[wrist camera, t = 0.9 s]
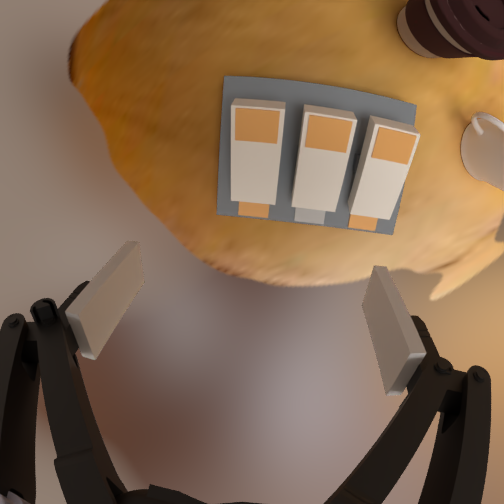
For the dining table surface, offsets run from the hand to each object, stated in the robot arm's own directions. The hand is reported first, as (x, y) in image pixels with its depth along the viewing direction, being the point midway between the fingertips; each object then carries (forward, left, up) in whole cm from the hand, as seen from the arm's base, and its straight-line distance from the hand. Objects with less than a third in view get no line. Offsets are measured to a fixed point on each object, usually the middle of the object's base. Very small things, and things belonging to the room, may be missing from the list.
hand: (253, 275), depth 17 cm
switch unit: (-4, +5, -21) cm, 22 cm away
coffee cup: (-22, +17, -21) cm, 35 cm away
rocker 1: (-4, -1, -14) cm, 15 cm away
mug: (-10, +27, -21) cm, 36 cm away
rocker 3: (-4, +11, -14) cm, 18 cm away
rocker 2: (-4, +5, -14) cm, 15 cm away
